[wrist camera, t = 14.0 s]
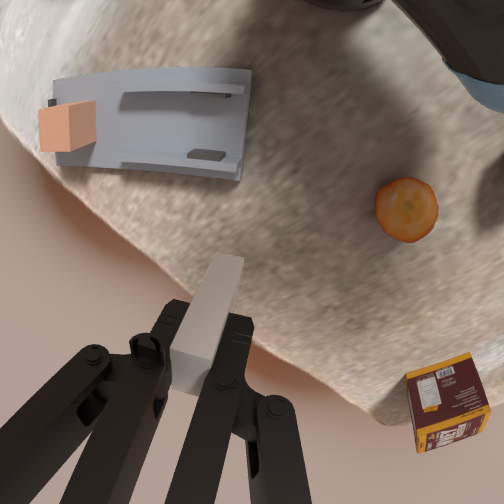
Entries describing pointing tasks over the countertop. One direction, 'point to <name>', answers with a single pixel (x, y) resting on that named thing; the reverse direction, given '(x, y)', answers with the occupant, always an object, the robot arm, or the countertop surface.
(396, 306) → the countertop surface
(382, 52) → the countertop surface
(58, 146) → the block
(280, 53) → the countertop surface
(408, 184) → the fruit
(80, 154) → the chute
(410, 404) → the supplement box
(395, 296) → the countertop surface
